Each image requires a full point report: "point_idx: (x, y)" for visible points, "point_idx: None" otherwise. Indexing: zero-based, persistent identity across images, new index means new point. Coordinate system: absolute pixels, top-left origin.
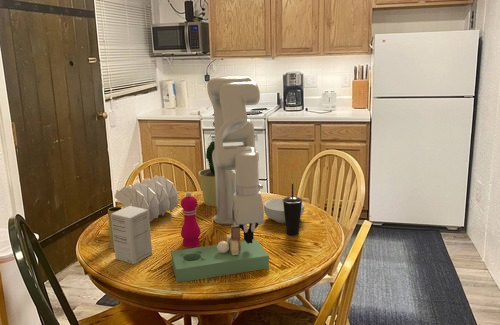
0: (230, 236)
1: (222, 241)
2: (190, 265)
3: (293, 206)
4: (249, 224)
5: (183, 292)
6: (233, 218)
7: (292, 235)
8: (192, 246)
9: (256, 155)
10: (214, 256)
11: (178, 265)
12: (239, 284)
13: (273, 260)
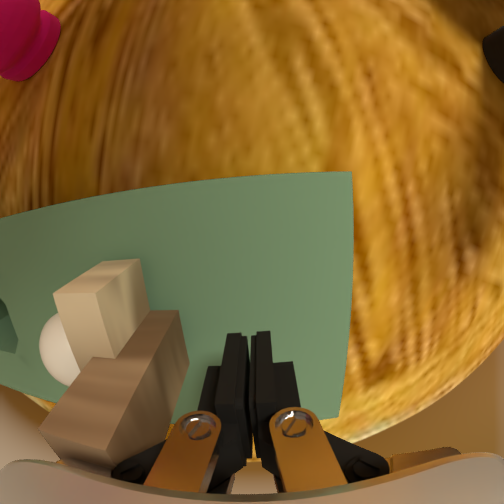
0: (86, 342)
1: (52, 368)
2: (11, 379)
3: None
4: (277, 465)
5: (45, 406)
6: (9, 463)
7: (501, 80)
8: (25, 78)
9: None
10: None
11: None
12: None
13: (374, 308)
